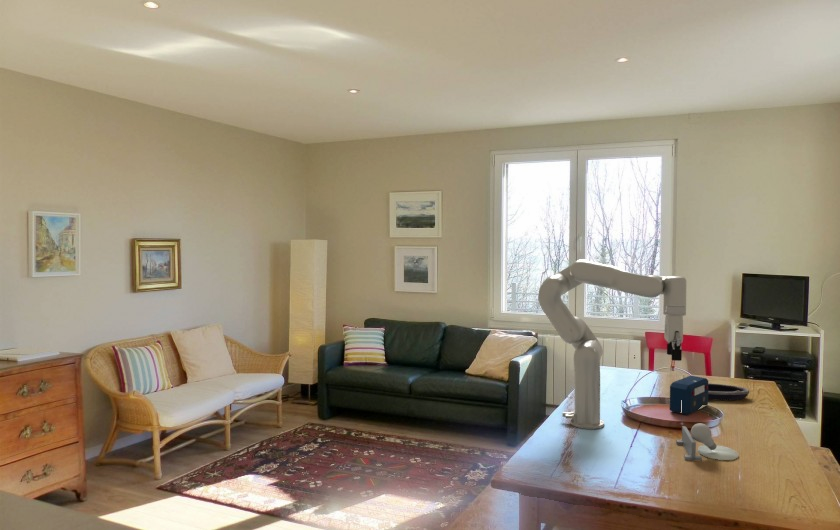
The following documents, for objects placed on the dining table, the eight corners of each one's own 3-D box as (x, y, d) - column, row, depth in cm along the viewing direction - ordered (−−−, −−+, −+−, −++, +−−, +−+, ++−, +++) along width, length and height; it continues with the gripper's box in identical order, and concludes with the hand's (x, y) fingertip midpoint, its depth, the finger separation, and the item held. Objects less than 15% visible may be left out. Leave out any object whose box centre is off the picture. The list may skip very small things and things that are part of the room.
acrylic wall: (685, 459, 191) (685, 441, 191) (676, 442, 207) (676, 425, 207) (701, 461, 190) (702, 442, 190) (691, 443, 206) (691, 426, 205)
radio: (688, 417, 235) (689, 367, 233) (667, 412, 241) (668, 364, 240) (711, 406, 248) (712, 359, 247) (690, 402, 255) (691, 356, 254)
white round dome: (702, 458, 192) (702, 456, 192) (694, 445, 204) (694, 443, 204) (742, 461, 189) (742, 459, 189) (732, 448, 201) (732, 446, 201)
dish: (753, 404, 251) (753, 392, 251) (675, 399, 260) (675, 387, 260) (745, 394, 266) (745, 383, 266) (671, 390, 275) (671, 379, 275)
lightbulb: (726, 450, 193) (707, 427, 190) (709, 459, 195) (690, 437, 192) (719, 438, 199) (701, 416, 196) (702, 446, 200) (684, 425, 198)
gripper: (659, 307, 222) (659, 352, 223) (667, 313, 205) (666, 362, 206) (681, 307, 220) (680, 353, 221) (690, 314, 204) (690, 363, 205)
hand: (674, 357), depth 214 cm, fingers open, 9 cm apart
